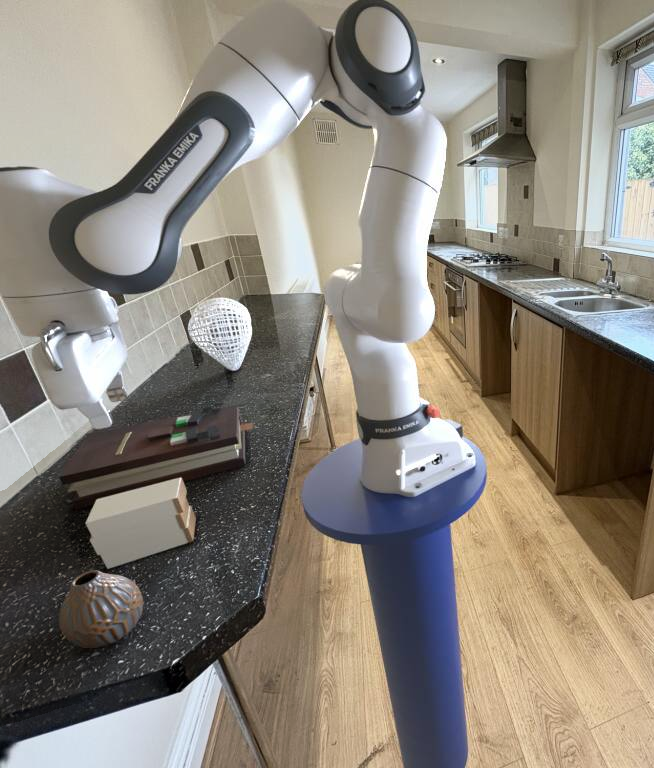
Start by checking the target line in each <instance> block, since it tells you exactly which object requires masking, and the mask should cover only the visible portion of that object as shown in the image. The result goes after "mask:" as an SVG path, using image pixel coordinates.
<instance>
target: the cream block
mask: <svg viewBox="0 0 654 768" xmlns="http://www.w3.org/2000/svg"><path fill="white" fill-rule="evenodd" d="M187 493H188V490H187V488H186V485H185V481H183V480H182V477H181V478H177V479H173V480H169V481H165V482H161V483H157V484H154V485H150V486H146V487H142V488H138V489H134V490H131V491H127V492H123V493H119V494H115V495H112V496H108V497H104V498H100V499H97V500H96V502H95V504H94V505H92V506H93V507H92V508H91V510H90V512H89V514H88V517H87V519H86V521H85V526H86V527H87V529H88V531H89V533H90V536H92V537H93V539H95V538H99V537H102V536H105V535H109V534H112V533H115V532H119V531H122V530H126V529H129V528H132V527H136V526H139V525H142V524H146V523H149V522H153V521H156V520H159V519H163V518H166V517H169V516H173V515H176V514H180V513H183V512H184V506H185V499H187Z"/></svg>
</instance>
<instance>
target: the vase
mask: <svg viewBox="0 0 654 768" xmlns="http://www.w3.org/2000/svg"><path fill="white" fill-rule="evenodd" d="M143 611H144V598H143V594H142V592H141V590H140V588H139V586H138V585H137V584H136V583H135V582H134V581H132V580H131V579H129V578H128V577H125V576H124V575H119V574H113V573H105V572H102V571H101V570H97V569H93V570H89V571H85V572H83V573H81V574H79V575H78V576H76V577H74V579H73V580H72V581H71V583H70V586H69V591H68V593H67V595H66V596H65V598H64V600H63V602H62V604H61V606H60V609H59V612H58V624H59V629H60V631H61V633H62V635H63V636H64V638H65V639H66V640H67V641H69V642H70V643H71V644H72V645H75V646H76V647H80V648H85V649H95V648H101V647H102V648H103V647H105V646H109V645H111V644H113V643H114V644H115V643H116V642H117V641H119V640H122V638H124V637H125V636H127V635H128V634H129V633H130V632H131V631H132V630H133V629H134V627H135V626H136V625H137V623H138V622H139V621H140V618H141V617H142V614H143Z"/></svg>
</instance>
